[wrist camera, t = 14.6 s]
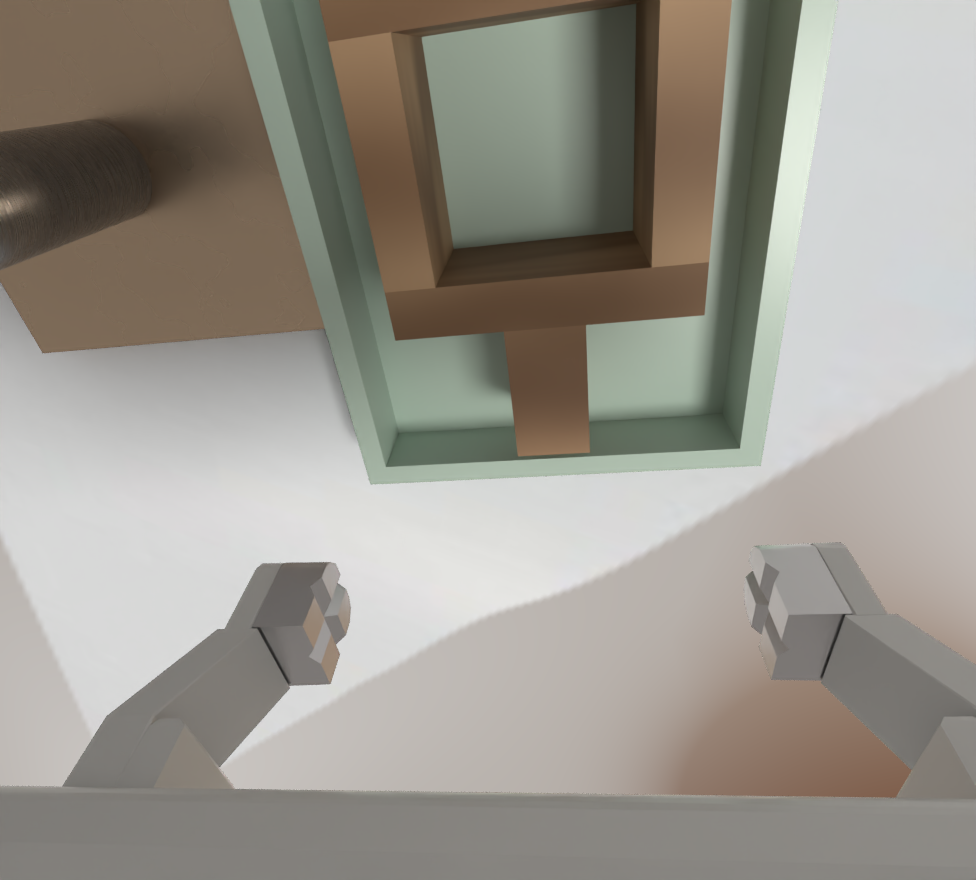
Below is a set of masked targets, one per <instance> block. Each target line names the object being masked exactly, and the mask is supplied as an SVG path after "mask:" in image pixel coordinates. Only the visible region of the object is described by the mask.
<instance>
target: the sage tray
mask: <svg viewBox="0 0 976 880" xmlns="http://www.w3.org/2000/svg"><path fill="white" fill-rule="evenodd" d="M229 4H230V7H231V11H232V14H233V17H234V21H235V24H236V28H237V31H238V35H239V38H240V41H241V45H242V48H243V52H244V55H245V58H246V62H247V65H248V69H249V72H250V75H251V79H252V82H253V86H254V89H255V92H256V96H257V99H258V103H259V106H260V109H261V113H262V116H263V120H264V123H265V126H266V130H267V133H268V137H269V140H270V143H271V147H272V150H273V154H274V157H275V160H276V164H277V167H278V171H279V174H280V178H281V181H282V184H283V188H284V191H285V195H286V198H287V201H288V205H289V208H290V212H291V215H292V218H293V222H294V225H295V229H296V232H297V235H298V239H299V242H300V246H301V249H302V252H303V256H304V259H305V263H306V266H307V269H308V273H309V276H310V280H311V283H312V286H313V290H314V293H315V297H316V300H317V304H318V307H319V310H320V314H321V317H322V321H323V324H324V327H325V331H326V334H327V338H328V341H329V344H330V348H331V351H332V355H333V358H334V361H335V365H336V368H337V372H338V375H339V378H340V382H341V385H342V389H343V392H344V395H345V399H346V402H347V406H348V409H349V412H350V416H351V419H352V423H353V426H354V430H355V433H356V436H357V440H358V443H359V447H360V450H361V453H362V457H363V460H364V464H365V467H366V470H367V474H368V477H369V481H370V484H391V483H412V482H433V481H454V480H474V479H495V478H516V477H537V476H558V475H579V474H600V473H621V472H642V471H662V470H683V469H704V468H725V467H746V466H761V461H762V455H763V449H764V443H765V437H766V431H767V425H768V419H769V413H770V407H771V401H772V395H773V389H774V383H775V377H776V371H777V365H778V359H779V353H780V347H781V341H782V335H783V329H784V323H785V317H786V311H787V305H788V299H789V293H790V287H791V281H792V275H793V269H794V263H795V257H796V251H797V245H798V239H799V233H800V227H801V221H802V215H803V209H804V203H805V197H806V191H807V185H808V179H809V173H810V167H811V161H812V155H813V149H814V143H815V137H816V131H817V125H818V119H819V113H820V107H821V101H822V95H823V89H824V83H825V77H826V71H827V65H828V59H829V53H830V47H831V41H832V35H833V29H834V23H835V17H836V11H837V5H838V0H732V5H731V16H730V28H729V39H728V51H727V62H726V74H725V86H724V97H723V109H722V120H721V132H720V143H719V155H718V166H717V178H716V190H715V201H714V213H713V224H712V236H711V247H710V259H709V270H708V282H707V294H706V305H705V315H703V316H690V317H678V318H666V319H654V320H642V321H630V322H618V323H605V324H593V325H586V341H587V373H588V405H589V437H590V453H573V454H554V455H535V456H518V453H517V444H516V435H515V427H514V418H513V409H512V400H511V392H510V383H509V374H508V366H507V357H506V348H505V339H504V332H496V333H484V334H472V335H460V336H447V337H435V338H423V339H411V340H399V341H395V337H394V332H393V328H392V323H391V319H390V315H389V310H388V306H387V301H386V297H385V292H384V288H383V283H382V279H381V275H380V270H379V266H378V261H377V257H376V252H375V248H374V244H373V239H372V235H371V230H370V226H369V221H368V217H367V213H366V208H365V204H364V199H363V195H362V190H361V186H360V181H359V177H358V173H357V168H356V164H355V159H354V155H353V150H352V146H351V142H350V137H349V133H348V128H347V124H346V119H345V115H344V110H343V106H342V102H341V97H340V93H339V88H338V84H337V79H336V75H335V71H334V66H333V62H332V57H331V53H330V48H329V44H328V40H327V35H326V31H325V26H324V22H323V17H322V13H321V8H320V4H319V0H229ZM422 43H423V50H424V56H425V63H426V70H427V76H428V83H429V89H430V96H431V103H432V109H433V116H434V122H435V129H436V135H437V142H438V149H439V155H440V162H441V168H442V175H443V181H444V188H445V195H446V201H447V208H448V214H449V221H450V228H451V234H452V241H453V247H454V249H458V248H468V247H478V246H487V245H497V244H507V243H516V242H526V241H536V240H545V239H555V238H565V237H575V236H584V235H594V234H604V233H613V232H623V231H633V191H634V121H635V51H636V4H631V5H625V6H618V7H612V8H606V9H599V10H593V11H586V12H580V13H573V14H567V15H560V16H554V17H547V18H541V19H535V20H528V21H522V22H515V23H509V24H502V25H496V26H489V27H483V28H476V29H470V30H464V31H457V32H451V33H444V34H438V35H431V36H425V37H422Z"/></svg>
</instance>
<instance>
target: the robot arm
mask: <svg viewBox="0 0 976 880" xmlns="http://www.w3.org/2000/svg"><path fill="white" fill-rule="evenodd" d="M749 562H750V565H751V567H752V570H753V571H752V572H751V573H750V574H748V575H747V576H746V578H745V585H744V602H745V607H746V612H747V616H748V618H749V621H750V624H751V627H752V628H754V629H755V630H756V631H757V632H759V633H760V634H761V635H762V636H761V641H760V645H759V649H760V652H761V654H762V657H763V660H764V662H765V665H766V667H767V670H768V673H769V675H770V678H771V680H821V683H822V684H823V685H824V686H825V687H826V688H827V689H828V690H829V691H830V692H831V693H832V694H833V695H834V696H835V697H836V698H837V699H838V700H839V701H840V702H842V704H843V705H845V706H846V707H847V708H848V709H849V710H850V711H851V712H852V713H853V714H854V715H855V716H856V717H857V718H858V719H859V720H860V721H861V722H862V723H863V724H864V725H865V726H866V727H868V728H869V729H870V730H871V731H872V732H873V733H874V734H875V735H876V736H877V737H878V738H879V739H880V740H881V741H882V742H883V743H884V744H885V745H886V746H887V747H888V748H889V749H890V750H891V751H892V752H894V753H895V754H896V755H897V756H898V757H899V758H900V759H901V760H902V761H903V762H904V763H905V764H906V765H907V766H908V767H909V768H910V769H911V770H912V771H911V773H910V775H909V776H908V778H907V780H906V782H905V783H904V785H903V786H902V788H901V790H900V791H899V793H898V795H897V797H896V798H866V797H792V796H785V797H784V796H718V795H711V796H710V795H646V794H640V795H639V794H576V793H498V792H419V791H417V792H415V791H344V790H342V791H340V790H268V789H267V790H265V789H261V790H260V789H234V786H233V784H232V783H231V782H230V781H229V779H228V778H227V777H226V775H225V774H224V773H223V772H222V770H221V769H220V768H219V767H220V766H221V765H222V764H223V763H224V762H225V761H226V759H227V758H228V757H229V756H230V755H231V754H232V753H233V752H234V750H235V749H236V748H237V747H238V746H239V745H240V744H241V743H242V741H243V740H244V739H245V738H246V737H247V736H248V735H249V734H250V732H251V731H252V730H253V729H254V728H255V727H256V726H257V725H258V723H259V722H260V721H261V720H262V719H263V718H264V717H265V716H266V714H267V713H268V712H269V711H270V710H271V709H272V708H273V707H274V705H275V704H276V703H277V702H278V701H279V700H280V699H281V698H282V696H283V695H284V694H285V693H286V692H287V691H288V690H289V689H290V687H289V686H294V685H320V684H331V681H332V678H333V674H334V671H335V668H336V665H337V662H338V659H339V656H340V653H339V651H338V649H337V646H336V644H337V643H338V642H339V641H340V640H341V639H342V638H343V637H344V636H345V635H346V633H347V630H348V626H349V623H350V611H351V607H350V600H349V596H348V593H347V590H346V589H345V588H344V587H342V586H341V585H340V584H338V580H339V577H340V572H339V570H338V568H337V566H336V563H331V562H310V563H263V564H261V565H260V566H259V567H258V568H257V569H256V570H255V572H254V574H253V576H252V578H251V579H250V581H249V583H248V585H247V587H246V589H245V591H244V593H243V595H242V597H241V599H240V600H239V602H238V604H237V606H236V608H235V610H234V612H233V614H232V616H231V618H230V620H229V621H228V623H227V625H226V627H225V629H217V630H216V631H215V632H214V633H212V634H211V635H210V636H209V637H207V638H206V639H205V640H203V641H202V642H201V643H200V644H198V645H197V646H196V647H194V648H193V649H192V650H191V651H189V652H188V653H187V654H185V655H184V656H183V657H182V658H180V659H179V660H178V661H177V662H175V663H174V664H173V665H171V666H170V667H169V668H168V669H166V670H165V671H164V672H162V673H161V674H160V675H159V676H157V677H156V678H155V679H154V680H152V681H151V682H150V683H148V684H147V685H146V686H145V687H143V688H142V689H141V690H139V691H138V692H137V693H136V694H134V695H133V696H132V697H130V698H129V699H128V700H127V701H125V702H124V703H123V704H122V705H120V706H119V707H118V708H116V709H115V710H114V711H113V712H111V713H110V714H109V715H107V716H106V718H105V719H104V721H103V723H102V724H101V726H100V727H99V729H98V731H97V732H96V734H95V735H94V737H93V738H92V740H91V742H90V743H89V745H88V746H87V748H86V750H85V751H84V753H83V754H82V756H81V758H80V759H79V761H78V763H77V764H76V766H75V767H74V769H73V770H72V772H71V773H70V775H69V777H68V778H67V780H66V781H65V783H64V785H63V786H62V787H54V786H0V880H976V665H975V664H974V663H972V662H971V661H969V660H968V659H966V658H964V657H963V656H962V655H960V654H958V653H957V652H955V651H954V650H952V649H951V648H949V647H948V646H946V645H945V644H943V643H941V642H940V641H938V640H937V639H935V638H934V637H932V636H931V635H929V634H928V633H926V632H925V631H923V630H921V629H920V628H918V627H917V626H915V625H914V624H912V623H911V622H909V621H908V620H906V619H904V618H903V617H901V616H900V615H898V614H888V613H887V611H886V610H885V608H884V606H883V605H882V603H881V601H880V600H879V598H878V597H877V595H876V593H875V592H874V590H873V589H872V587H871V585H870V584H869V582H868V581H867V579H866V577H865V576H864V574H863V572H862V571H861V569H860V568H859V566H858V564H857V563H856V561H855V560H854V558H853V556H852V555H851V553H850V552H849V550H848V548H847V547H846V546H845V545H844V544H842V543H841V542H835V543H812V544H787V545H765V546H754V547H753V549H752V550H751V552H750V558H749Z"/></svg>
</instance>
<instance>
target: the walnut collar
mask: <svg viewBox="0 0 976 880" xmlns="http://www.w3.org/2000/svg"><path fill="white" fill-rule="evenodd" d="M319 4H320V8H321V13H322V17H323V22H324V26H325V31H326V35H327V40H328V44H329V48H330V53H331V57H332V62H333V66H334V71H335V75H336V79H337V84H338V88H339V93H340V97H341V102H342V106H343V110H344V115H345V119H346V124H347V128H348V133H349V137H350V142H351V146H352V150H353V155H354V159H355V164H356V168H357V173H358V177H359V181H360V186H361V190H362V195H363V199H364V204H365V208H366V213H367V217H368V221H369V226H370V230H371V235H372V239H373V244H374V248H375V252H376V257H377V261H378V266H379V270H380V275H381V279H382V283H383V288H384V292H385V297H386V301H387V306H388V310H389V315H390V319H391V323H392V328H393V332H394V337H395V341H399V340H411V339H423V338H435V337H447V336H460V335H472V334H484V333H496V332H504V339H505V348H506V357H507V366H508V374H509V383H510V392H511V400H512V409H513V418H514V427H515V435H516V444H517V453H518V456H535V455H554V454H573V453H590V437H589V405H588V373H587V341H586V325H593V324H605V323H618V322H630V321H642V320H654V319H666V318H678V317H690V316H703V315H705V305H706V294H707V282H708V270H709V259H710V247H711V236H712V224H713V213H714V201H715V190H716V178H717V166H718V155H719V143H720V132H721V120H722V109H723V97H724V86H725V74H726V62H727V51H728V39H729V28H730V16H731V5H732V0H319ZM631 4H636V51H635V121H634V191H633V231H623V232H613V233H604V234H594V235H584V236H575V237H565V238H555V239H545V240H536V241H526V242H516V243H507V244H497V245H487V246H478V247H468V248H458V249H454V247H453V241H452V234H451V228H450V221H449V214H448V208H447V201H446V195H445V188H444V181H443V175H442V168H441V162H440V155H439V149H438V142H437V135H436V129H435V122H434V116H433V109H432V103H431V96H430V89H429V83H428V76H427V70H426V63H425V56H424V50H423V43H422V37H425V36H431V35H438V34H444V33H451V32H457V31H464V30H470V29H476V28H483V27H489V26H496V25H502V24H509V23H515V22H522V21H528V20H535V19H541V18H547V17H554V16H560V15H567V14H573V13H580V12H586V11H593V10H599V9H606V8H612V7H618V6H625V5H631Z"/></svg>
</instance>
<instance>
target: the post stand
mask: <svg viewBox="0 0 976 880" xmlns="http://www.w3.org/2000/svg"><path fill="white" fill-rule="evenodd" d="M0 282H1V283H2V285H3V287H4V288H5V290H6V292H7V293H8V295H9V297H10V299H11V300H12V302H13V304H14V305H15V307H16V309H17V310H18V312H19V314H20V315H21V317H22V319H23V320H24V322H25V324H26V326H27V327H28V329H29V331H30V332H31V334H32V336H33V337H34V339H35V341H36V342H37V344H38V346H39V348H40V349H41V351H42V353H51V352H62V351H74V350H85V349H97V348H108V347H120V346H131V345H143V344H154V343H166V342H177V341H189V340H200V339H212V338H223V337H235V336H246V335H258V334H269V333H281V332H292V331H304V330H316V329H325V327H324V324H323V321H322V317H321V314H320V310H319V307H318V304H317V300H316V297H315V293H314V290H313V286H312V283H311V280H310V276H309V273H308V269H307V266H306V263H305V259H304V256H303V252H302V249H301V246H300V242H299V239H298V235H297V232H296V229H295V225H294V222H293V218H292V215H291V212H290V208H289V205H288V201H287V198H286V195H285V191H284V188H283V184H282V181H281V178H280V174H279V171H278V167H277V164H276V160H275V157H274V154H273V150H272V147H271V143H270V140H269V137H268V133H267V130H266V126H265V123H264V120H263V116H262V113H261V109H260V106H259V103H258V99H257V96H256V92H255V89H254V86H253V82H252V79H251V75H250V72H249V69H248V65H247V62H246V58H245V55H244V52H243V48H242V45H241V41H240V38H239V35H238V31H237V28H236V24H235V21H234V17H233V14H232V11H231V7H230V4H229V0H0Z"/></svg>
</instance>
